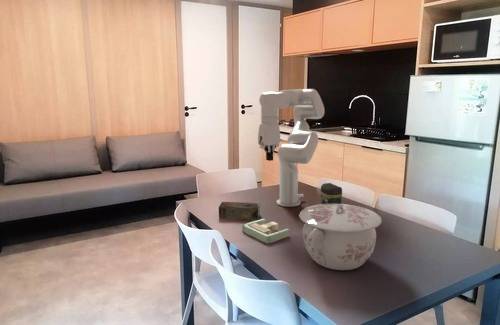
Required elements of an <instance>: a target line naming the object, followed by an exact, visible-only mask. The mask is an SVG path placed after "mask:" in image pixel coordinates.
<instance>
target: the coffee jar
mask: <svg viewBox="0 0 500 325" xmlns="http://www.w3.org/2000/svg"><path fill="white" fill-rule="evenodd" d="M319 193H320V204H332V203H337V204H342V198H343V188H342V187H341V186H338V185H336V184H333V183H331V182H326V183H323V184H321V186H320V192H319Z"/></svg>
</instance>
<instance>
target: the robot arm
mask: <svg viewBox="0 0 500 325" xmlns="http://www.w3.org/2000/svg"><path fill="white" fill-rule="evenodd" d="M258 100H259V105H260V109H261V110H260V112H261V113H260V114H261V115H260V117H261V119H260V120H261V123H259V127H258V131H257V132H258V133H257V145H258V146H259V149H260V150H261V149H262V150H264V152H265V160H266V161H270V162H272V161H274V152H275V150H276V148H278V149H277V157H278V162H279V163H278V164H279V165H278V166H279V199H276V204H277V205H278V206H281V207H284V208H285V207H286V208H291V207H292V208H293V207H298V206H300V205H301V200H300V198H304V197H305V194H304V193H300V194H299V191H298V189H299V186H298V184H299V170H298V167H297V165H296V164H301V165H307V164H309V163H310V162H311V160H312V158H313V156H314V154H315V152H316V151H317V150H316V149H317V147H318V144H319V135H318V134H317V132H315V131H312V130H310V125H309V124H308V122H307V121H306V119H307V120H319V119H322V118H323V117H324V116H325V106H324V103H323V100H322V98H321V96H320V94H319V93H318V91H317V90H316V89H315V88H297V89H294V88H293V89H284V90H275V91H265V92H262V93H261V95H260V96H259V99H258ZM292 107H293V112H292V114H293V121H294V122H293V123H294V126H293V127H292V129H291V131H290V133H289V135H288V137H287V143H283V144H281V145H280V143H281V129H280V125H279V120H280V118H279V109H285V108H292Z"/></svg>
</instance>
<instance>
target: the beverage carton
mask: <svg viewBox="0 0 500 325" xmlns="http://www.w3.org/2000/svg"><path fill="white" fill-rule="evenodd" d="M260 216H261V203H258V202H235V201H221V203H220V204H219V206H218V219H221V220H222V219H227V220H228V219H229V220H251V219H258V220H260Z"/></svg>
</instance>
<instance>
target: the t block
mask: <svg viewBox="0 0 500 325" xmlns="http://www.w3.org/2000/svg"><path fill="white" fill-rule="evenodd" d="M249 226H250V227H252V228H254V229H256V230H258V231H260V232H263V233H265V234H267V235H269V234H272V233H275V232H278V231H279V223H277V222H275V221H271V222H267V223H266V222H265V224H263V225H258V224H256V223H254V224H251V225H249Z"/></svg>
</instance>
